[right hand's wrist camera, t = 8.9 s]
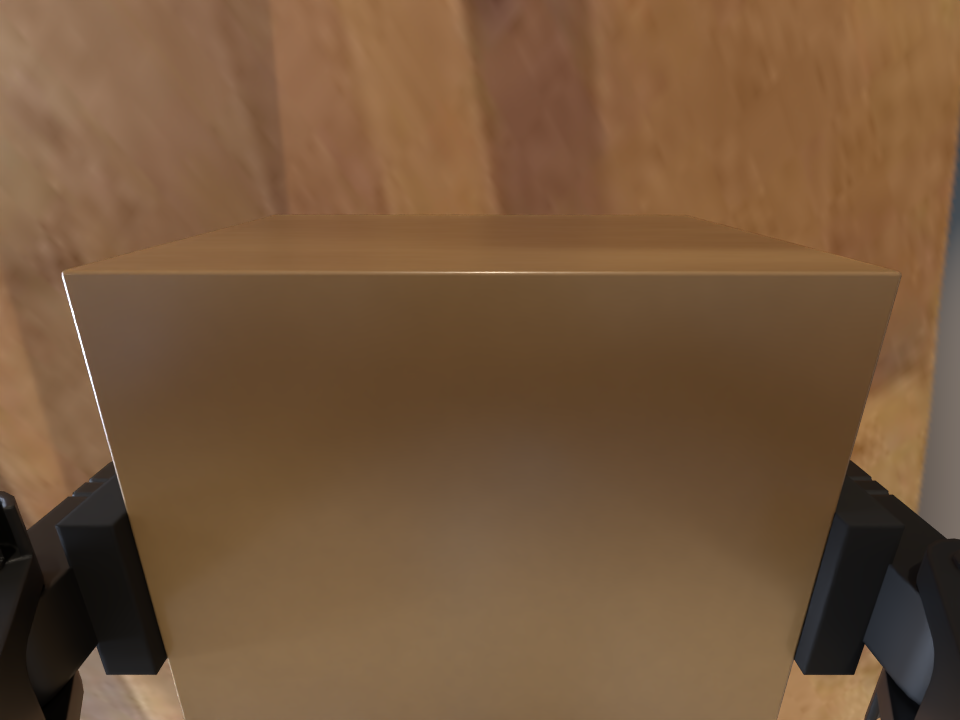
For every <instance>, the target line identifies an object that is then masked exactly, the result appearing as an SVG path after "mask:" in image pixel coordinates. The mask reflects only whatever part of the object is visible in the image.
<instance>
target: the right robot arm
mask: <svg viewBox="0 0 960 720" xmlns="http://www.w3.org/2000/svg"><path fill="white" fill-rule="evenodd" d="M864 645H866V646H867V647H868V649H869V650H870V651H871V652H872V654H873V655H874V656H875V657H876V659H877V660H878V661H879V662H880V664H881V665H882V666H883V668H882V671H881V674H880V677H879V679H878V682H877V685H876V687H875V690H874V693H873V696H872V698H871V701H870V704H869V706H868V709H867V712H866V715H865V719H864V720H877V719H878V718H881V720H960V540H959V539H946V538H945V537H944V536H943V535H942V534H940V533H939V532H938V531H937V530H935V529H934V528H933V527H932V526H931V525H929V524H928V523H927V522H926V521H924V520H923V519H922V518H921V517H920V516H918V515H917V514H916V513H915V512H913V511H912V510H911V509H910V508H908V507H907V506H906V505H905V504H904V503H902V502H901V501H900V500H899V499H897V498H896V497H895V496H894V495H889V493H888V490H886V489H885V488H884V487H883V486H882V485H880V484H879V483H878V482H877V481H872V479H871V476H869V475H868V474H867V473H866V472H864V471H863V470H862V469H861V468H860V467H858V466H857V465H856V464H855V463H853V462H852V461H851V460H850V461H849V465H848V468H847V472H846V475H845V479H844V482H843V486H842V489H841V493H840V497H839V500H838V504H837V507H836V511H835V514H834V517H833V521H832V525H831V528H830V532H829V535H828V539H827V542H826V546H825V550H824V553H823V557H822V560H821V564H820V567H819V571H818V575H817V578H816V582H815V585H814V589H813V592H812V596H811V600H810V603H809V607H808V610H807V614H806V617H805V621H804V625H803V628H802V632H801V635H800V639H799V642H798V646H797V650H796V653H795V657H794V660H795V661H796V663H797V665H798V666H799V668H800V669H801V671H802V673H803V674H804V675H854V674H855V671H856V668H857V665H858V662H859V659H860V656H861V653H862V650H863V648H864ZM96 646H97V649H98V652H99V655H100V658H101V661H102V664H103V666H104V669H105V672H106V675H157V673H158V672H159V670H160V668H161V667H162V665H163V664H164V662H165V660H166V659H167V655H166V651H165V648H164V644H163V641H162V637H161V633H160V630H159V626H158V622H157V619H156V615H155V612H154V608H153V604H152V601H151V597H150V594H149V590H148V586H147V583H146V579H145V575H144V572H143V568H142V565H141V561H140V557H139V554H138V550H137V547H136V543H135V539H134V536H133V532H132V528H131V525H130V521H129V518H128V514H127V510H126V507H125V503H124V500H123V496H122V492H121V489H120V485H119V481H118V478H117V474H116V471H115V467H114V463H113V461H112V462H110V463H109V464H107V465H106V466H105V467H104V468H103V469H101V470H100V471H99V472H98V473H96V474H95V475H94V476H93V477H92V478H90V481H89V482H86V483H84V484H83V485H82V486H81V487H79V488H78V489H77V490H76V491H75V492H73V496H72V497H67V498H66V499H65V500H64V501H62V502H61V503H60V504H59V505H58V506H56V507H55V508H54V509H53V510H52V511H50V512H49V513H48V514H47V515H45V516H44V517H43V518H42V519H41V520H39V521H38V522H37V523H36V524H35V525H33V526H32V527H31V528H30V529H28V530H26V527H25V525H24V522H23V519H22V517H21V514H20V511H19V508H18V506H17V503H16V500H15V498H14V496H12V495H10V494H8V493H6V492H3V491H0V720H80V713H81V707H82V700H83V693H84V690H83V684H82V679H81V677H80V674H79V671H78V669H79V667H80V666H81V665H82V664H83V662H84V661H85V660H86V658H87V657H88V656H89V655H90V653H91V652H92V651H93V650H94V648H95V647H96Z"/></svg>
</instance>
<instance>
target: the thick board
mask: <svg viewBox="0 0 960 720" xmlns="http://www.w3.org/2000/svg"><path fill="white" fill-rule="evenodd" d="M62 279H63V283H64V286H65V290H66V293H67V297H68V301H69V304H70V308H71V312H72V315H73V319H74V322H75V326H76V330H77V333H78V337H79V340H80V344H81V348H82V351H83V355H84V359H85V362H86V366H87V369H88V373H89V377H90V380H91V384H92V387H93V391H94V395H95V398H96V402H97V406H98V409H99V413H100V416H101V420H102V424H103V427H104V431H105V434H106V438H107V442H108V445H109V449H110V453H111V456H112V460H113V463H114V467H115V471H116V474H117V478H118V481H119V485H120V489H121V492H122V496H123V500H124V503H125V507H126V510H127V514H128V518H129V521H130V525H131V528H132V532H133V536H134V539H135V543H136V547H137V550H138V554H139V557H140V561H141V565H142V568H143V572H144V575H145V579H146V583H147V586H148V590H149V594H150V597H151V601H152V604H153V608H154V612H155V615H156V619H157V622H158V626H159V630H160V633H161V637H162V641H163V644H164V648H165V651H166V655H167V659H168V662H169V666H170V669H171V673H172V677H173V680H174V684H175V688H176V691H177V695H178V698H179V702H180V706H181V709H182V713H183V716H184V720H777V717H778V714H779V710H780V707H781V703H782V699H783V696H784V692H785V689H786V685H787V682H788V678H789V675H790V671H791V667H792V664H793V660H794V657H795V653H796V650H797V646H798V642H799V639H800V635H801V632H802V628H803V625H804V621H805V617H806V614H807V610H808V607H809V603H810V600H811V596H812V592H813V589H814V585H815V582H816V578H817V575H818V571H819V567H820V564H821V560H822V557H823V553H824V550H825V546H826V542H827V539H828V535H829V532H830V528H831V525H832V521H833V517H834V514H835V511H836V507H837V504H838V500H839V497H840V493H841V489H842V486H843V482H844V479H845V475H846V472H847V468H848V465H849V461H850V457H851V454H852V450H853V447H854V443H855V440H856V436H857V433H858V429H859V425H860V422H861V418H862V415H863V411H864V408H865V404H866V400H867V397H868V393H869V390H870V386H871V383H872V379H873V376H874V372H875V368H876V365H877V361H878V358H879V354H880V351H881V347H882V344H883V340H884V336H885V333H886V329H887V326H888V322H889V319H890V315H891V312H892V308H893V304H894V301H895V297H896V294H897V290H898V287H899V283H900V279H901V273H900V272H899V271H896V270H893V269H889V268H885V267H881V266H877V265H873V264H870V263H866V262H862V261H858V260H854V259H851V258H847V257H843V256H839V255H835V254H832V253H828V252H824V251H820V250H816V249H813V248H809V247H805V246H801V245H797V244H794V243H790V242H786V241H782V240H778V239H775V238H771V237H767V236H763V235H759V234H755V233H752V232H748V231H744V230H740V229H736V228H733V227H729V226H725V225H721V224H717V223H714V222H710V221H706V220H702V219H698V218H695V217H691V216H687V215H273V216H269V217H265V218H261V219H257V220H254V221H250V222H246V223H242V224H238V225H235V226H231V227H227V228H223V229H219V230H215V231H212V232H208V233H204V234H200V235H196V236H193V237H189V238H185V239H181V240H177V241H174V242H170V243H166V244H162V245H158V246H154V247H151V248H147V249H143V250H139V251H135V252H132V253H128V254H124V255H120V256H116V257H112V258H109V259H105V260H101V261H97V262H93V263H90V264H86V265H82V266H78V267H74V268H71V269H67V270H64V271H63V272H62Z"/></svg>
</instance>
